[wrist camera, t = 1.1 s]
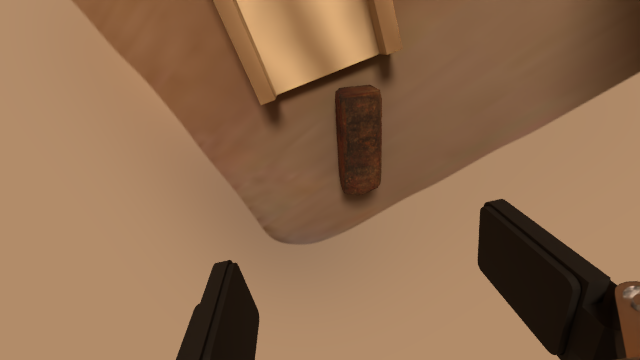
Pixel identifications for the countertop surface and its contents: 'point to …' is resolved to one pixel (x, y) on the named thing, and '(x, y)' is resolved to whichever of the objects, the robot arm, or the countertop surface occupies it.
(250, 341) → the robot arm
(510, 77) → the countertop surface
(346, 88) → the brick
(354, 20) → the rail board
